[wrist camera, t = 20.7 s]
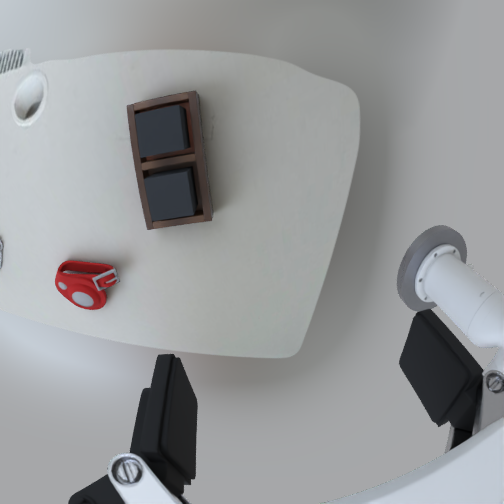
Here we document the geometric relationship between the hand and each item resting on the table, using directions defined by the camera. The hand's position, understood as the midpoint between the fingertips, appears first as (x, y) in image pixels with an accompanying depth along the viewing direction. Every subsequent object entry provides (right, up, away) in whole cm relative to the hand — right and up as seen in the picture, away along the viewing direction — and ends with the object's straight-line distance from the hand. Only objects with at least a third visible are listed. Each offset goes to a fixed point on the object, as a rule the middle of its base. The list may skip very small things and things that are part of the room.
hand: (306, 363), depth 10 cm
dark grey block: (-12, +19, +21) cm, 30 cm away
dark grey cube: (-12, +12, +24) cm, 29 cm away
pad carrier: (-12, +16, +23) cm, 30 cm away
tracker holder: (-27, 0, +29) cm, 40 cm away
